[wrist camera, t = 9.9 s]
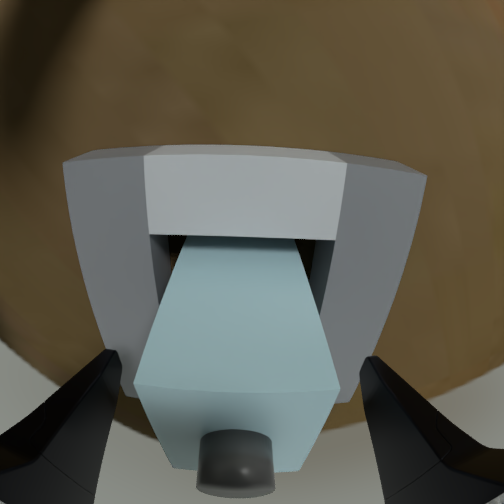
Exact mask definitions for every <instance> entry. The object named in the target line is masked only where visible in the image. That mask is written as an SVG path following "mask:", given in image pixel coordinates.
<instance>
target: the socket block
mask: <svg viewBox="0 0 504 504" xmlns="http://www.w3.org/2000/svg"><path fill="white" fill-rule="evenodd" d="M63 171H64V180H65V188H66V195H67V202H68V208H69V214H70V220H71V225H72V230H73V235H74V240H75V245H76V249H77V254H78V258H79V262H80V266H81V270H82V274H83V278H84V282H85V285H86V289H87V292H88V296H89V299H90V303H91V306H92V309H93V312H94V315H95V318H96V321H97V324H98V327H99V330H100V333H101V336H102V339H103V341H104V344H105V347H106V349H114V350H116V351H117V352H118V355H119V357H120V360H121V363H122V375H121V381H120V384H121V386H122V388H123V391H124V393H125V395H126V396H128V397H134V398H139V396H138V394H137V391H136V389H135V386H134V384H133V383H134V379H135V376H136V373H137V370H138V367H139V364H140V361H141V358H142V355H143V352H144V349H145V346H146V343H147V340H148V337H149V334H150V331H151V328H152V326H153V323H154V320H155V317H156V314H157V312H158V309H159V306H160V304H161V301H162V298H163V296H164V293H165V290H166V288H167V285H168V282H169V280H170V277H171V275H172V274H171V264H170V254H169V242H168V235H203V236H237V237H266V238H293V239H316V243H315V249H314V255H313V262H312V268H311V274H310V279H309V285H310V288H311V292H312V295H313V298H314V301H315V304H316V307H317V310H318V314H319V317H320V320H321V323H322V327H323V330H324V333H325V337H326V340H327V343H328V347H329V350H330V353H331V357H332V360H333V364H334V367H335V371H336V374H337V378H338V381H339V385H340V391H339V394H338V396H337V398H336V400H335V402H334V403H343V402H349V401H350V399H351V397H352V395H353V393H354V391H355V389H356V387H357V385H358V383H359V381H360V377H359V372H360V369H361V367H362V364H363V362H364V360H365V358H366V357H367V356H371V355H372V353H373V351H374V348H375V346H376V344H377V341H378V339H379V336H380V334H381V332H382V329H383V327H384V324H385V322H386V319H387V316H388V314H389V311H390V308H391V306H392V303H393V300H394V297H395V294H396V292H397V289H398V286H399V283H400V280H401V277H402V274H403V270H404V267H405V264H406V261H407V257H408V254H409V250H410V247H411V243H412V240H413V236H414V232H415V228H416V225H417V220H418V216H419V212H420V208H421V203H422V199H423V194H424V189H425V184H426V179H427V175H425V174H423V173H420V172H418V171H416V170H414V169H412V168H410V167H408V166H406V165H404V164H401V163H399V162H397V161H391V160H385V159H379V158H373V157H366V156H359V155H352V154H344V153H336V152H327V151H318V150H307V149H296V148H282V147H267V146H245V145H162V146H141V147H126V148H113V149H102V150H93V151H90V152H88V153H85V154H82V155H80V156H77V157H75V158H72V159H70V160H68V161H65V162H63Z"/></svg>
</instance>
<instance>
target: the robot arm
mask: <svg viewBox="0 0 504 504" xmlns="http://www.w3.org/2000/svg"><path fill="white" fill-rule="evenodd" d="M121 375H122V363H121V360H120V357H119V355H118V352H117V351H116V350H114V349H105V350H104V351H102V352H101V353H100V354H99V355H98V356H97V357H95V358H94V359H93V360H92V361H91V362H90V363H88V364H87V365H86V366H85V367H84V368H83V369H81V370H80V371H79V372H78V373H77V374H76V375H74V376H73V377H72V378H71V379H70V380H69V381H67V382H66V383H65V384H64V385H63V386H62V387H61V388H59V389H58V390H57V391H56V392H55V393H54V394H52V395H51V396H50V397H49V398H48V399H47V400H46V401H45V403H42V404H41V405H40V406H39V407H38V408H36V409H35V410H34V411H33V412H32V413H30V414H29V415H28V416H27V417H25V418H24V419H22V420H21V421H20V422H18V423H17V424H16V425H14V426H13V427H11V428H10V429H9V430H7V431H6V432H4V433H3V434H1V435H0V504H94V498H95V493H96V487H97V483H98V478H99V473H100V468H101V464H102V459H103V455H104V451H105V447H106V443H107V439H108V435H109V431H110V427H111V423H112V420H113V416H114V412H115V409H116V404H117V399H118V393H119V387H120V381H121ZM359 377H360V384H361V391H362V398H363V405H364V411H365V415H366V419H367V423H368V427H369V431H370V436H371V440H372V444H373V448H374V452H375V457H376V462H377V466H378V471H379V475H380V480H381V485H382V490H383V495H384V500H385V504H504V449H493V448H488V447H486V446H484V445H482V444H480V443H479V442H477V441H476V440H474V439H473V438H472V437H470V436H469V435H468V434H466V433H465V432H464V431H462V430H461V429H459V428H458V427H457V426H456V425H454V424H453V423H452V422H451V421H449V420H448V419H447V418H446V417H445V416H444V415H442V414H441V413H440V412H439V411H437V409H436V408H435V407H434V406H432V405H431V404H430V403H429V402H428V401H427V400H426V399H425V398H424V397H422V396H421V395H420V394H419V393H418V392H417V391H416V390H415V389H414V388H412V387H411V386H410V385H409V384H408V383H407V382H406V381H405V380H404V379H402V378H401V377H400V376H399V375H398V374H397V373H396V372H395V371H394V370H392V369H391V368H390V367H389V366H388V365H387V364H386V363H385V362H383V361H382V360H381V359H380V358H379V357H378V356H367V357H366V358H365V360H364V362H363V364H362V367H361V369H360V372H359Z"/></svg>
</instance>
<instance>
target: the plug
mask: <svg viewBox="0 0 504 504" xmlns="http://www.w3.org/2000/svg"><path fill="white" fill-rule="evenodd" d="M133 384H134V386H135V389H136V391H137V394H138V396H139V399H140V401H141V403H142V406H143V408H144V410H145V412H146V415H147V417H148V419H149V421H150V423H151V426H152V428H153V430H154V432H155V434H156V436H157V438H158V440H159V442H160V444H161V446H162V448H163V450H164V452H165V454H166V456H167V458H168V459H169V461H170V463H171V464H172V467H173V468H178V469H187V470H197V471H198V472H197V484H196V488H197V489H198V490H199V491H201V492H203V493H205V494H208V495H213V496H217V497H225V498H251V497H259V496H264V495H267V494H270V493H272V492H273V491H275V480H274V472H290V471H299V470H300V468H301V466H302V464H303V463H304V461H305V459H306V457H307V456H308V454H309V452H310V450H311V448H312V446H313V445H314V443H315V441H316V439H317V437H318V435H319V433H320V431H321V429H322V427H323V425H324V423H325V421H326V419H327V417H328V415H329V413H330V411H331V409H332V407H333V405H334V402H335V400H336V398H337V396H338V394H339V391H340V385H339V381H338V378H337V374H336V371H335V367H334V364H333V360H332V357H331V353H330V350H329V347H328V343H327V340H326V337H325V333H324V330H323V327H322V323H321V320H320V317H319V314H318V310H317V307H316V304H315V301H314V298H313V295H312V292H311V288H310V285H309V282H308V279H307V276H306V273H305V270H304V267H303V264H302V261H301V258H300V255H299V252H298V249H297V246H296V243H295V240H294V239H293V238H266V237H237V236H203V235H187V237H186V240H185V242H184V245H183V247H182V250H181V252H180V254H179V257H178V259H177V262H176V264H175V267H174V270H173V272H172V275H171V277H170V280H169V282H168V285H167V288H166V290H165V293H164V296H163V298H162V301H161V304H160V306H159V309H158V312H157V314H156V317H155V320H154V323H153V326H152V328H151V331H150V334H149V337H148V340H147V343H146V346H145V349H144V352H143V355H142V358H141V361H140V364H139V367H138V370H137V373H136V376H135V379H134V383H133Z"/></svg>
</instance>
